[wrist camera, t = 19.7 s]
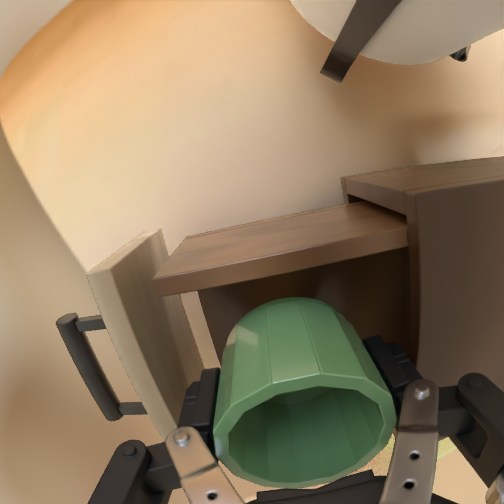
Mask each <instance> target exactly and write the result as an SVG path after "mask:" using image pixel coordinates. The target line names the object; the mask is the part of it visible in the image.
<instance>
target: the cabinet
mask: <svg viewBox="0 0 504 504" xmlns="http://www.w3.org/2000/svg"><path fill="white" fill-rule="evenodd" d="M341 184H342V190H343V196H344V202H345V204H349V203H354V202H360V201H365V200H367V201H370V202H373V203H375V204H378V205H381V206H384V207H386V208H389V209H391V210H394V211H397V212H399V213H402V214H404V215H406V216H407V227H408V240H409V258H410V297H411V304H410V343H409V360H411V362H412V363H413V365H414V366H415V367H416V369H417V370H418V372H419V373H420V375H421V376H422V377H423V379H427V380H430V381H433V382H434V383H435V384H436V385H437V386H438V387H447V386H454V385H458V381H459V379H460V378H461V377H462V376H464V375H465V374H468V373H480V374H483V375H485V376H486V377H487V378H488V379H489V380H491V381H492V382H493V383H494V384H495V385H496V386H497V387H498V388H499V389H501V390H502V391H503V392H504V156H503V157H492V158H481V159H471V160H462V161H453V162H445V163H436V164H428V165H421V166H413V167H406V168H399V169H392V170H385V171H379V172H372V173H366V174H360V175H353V176H347V177H342V178H341ZM397 429H398V426H397V427H395V428H394V430H393V434H394V437H395V439H396V434H397ZM446 437H448V436H442V437H439V441H440V440H442V439H444V438H446Z"/></svg>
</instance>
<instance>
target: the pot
mask: <svg viewBox="0 0 504 504" xmlns="http://www.w3.org/2000/svg"><path fill="white" fill-rule="evenodd" d="M396 423H397V414H396V410H395V406H394V402H393V398H392V395H391V393H390V391H389V390H388V388H387V386H386V384H385V382H384V380H383V379H382V377H381V375H380V373H379V371H378V369H377V368H376V366H375V364H374V362H373V361H372V359H371V357H370V355H369V353H368V352H367V350H366V348H365V346H364V345H363V343H362V341H361V339H360V338H359V336H358V334H357V332H356V331H355V329H354V327H353V326H352V324H351V323H349V322H348V320H347V319H346V317H345V316H344V315H343V314H342V313H341V312H340V311H338V310H337V309H336V308H334V307H333V306H331V305H329V304H327V303H325V302H322V301H320V300H317V299H312V298H306V297H287V298H280V299H276V300H273V301H270V302H267V303H264V304H262V305H260V306H258V307H256V308H255V309H253V310H252V311H250V312H249V313H247V314H246V315H245V316H244V317H243V318H242V319H240V321H239V322H238V323H237V324H236V325H235V327H234V328H233V330H232V331H231V333H230V335H229V337H228V340H227V343H226V347H225V349H224V352H223V358H222V365H221V373H220V380H219V388H218V395H217V403H216V410H215V418H214V426H213V439H214V449H215V455H216V457H217V458H218V459H219V460H220V461H221V462H222V463H223V464H224V465H225V466H226V467H227V468H228V469H229V471H231V473H232V474H234V475H235V476H237V477H240V478H242V479H245V480H247V481H250V482H253V483H255V484H258V485H261V486H265V487H276V488H294V489H297V488H304V487H310V486H315V485H320V484H325V483H329V482H332V481H335V480H337V479H340V478H342V477H344V476H346V475H348V474H350V473H352V472H354V471H356V470H358V469H360V468H362V467H363V466H365V465H366V464H367V463H368V462H369V461H370V460H372V459H373V458H374V457H375V456H376V455H377V454H378V453H379V452H380V451H381V450H382V449H383V448H384V447H385V446H386V445H387V443H388V441H389V439H390V437H391V434H392V432H393V430H394V428H395V425H396Z"/></svg>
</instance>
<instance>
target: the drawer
mask: <svg viewBox="0 0 504 504" xmlns="http://www.w3.org/2000/svg"><path fill="white" fill-rule="evenodd" d="M86 276H87V279H88V282H89V284H90V287H91V290H92V293H93V295H94V298H95V301H96V303H97V306H98V309H99V311H100V314H101V315H96V316H89V317H83V318H79V317H78V315H77V314H76V313H70V314H66V315H64V316H62V317H61V318H59V319H58V320H57V321H56V325H57V328H58V330H59V332H60V334H61V337H62V339H63V341H64V343H65V345H66V347H67V349H68V351H69V353H70V355H71V357H72V359H73V361H74V363H75V365H76V367H77V369H78V371H79V373H80V375H81V377H82V378H83V380H84V382H85V384H86V386H87V387H88V389H89V391H90V393H91V394H92V396H93V398H94V400H95V401H96V403H97V404H98V406H99V408H100V410H101V411H102V413H103V414H104V416H105V418H106V419H107V420H109V421H116V420H119V419H120V418H121V417H122V416H123V415H136V414H137V415H138V414H140V415H141V414H148V415H149V416H150V418H151V420H152V422H153V424H154V425H155V427H156V429H157V430H158V432H159V434H160V435H161V437H162V439H163V441H165V439H166V437H167V435H168V434H169V433H170V432H171V431H172V430H174V429H176V428H177V426H178V422H179V418H180V414H181V410H182V406H183V402H184V399H185V394H186V390H187V388H188V387H189V386H190V385H191V383H192V382H194V381H200V377H201V372H202V370H203V369H205V367H204V365H203V362H202V359H201V356H200V353H199V351H198V348H197V345H196V342H195V339H194V336H193V333H192V330H191V327H190V324H189V321H188V318H187V315H186V312H185V309H184V306H183V303H182V299H181V296H180V294H181V293H187V292H192V291H198V295H199V298H200V302H201V305H202V308H203V312H204V315H205V318H206V321H207V325H208V328H209V331H210V334H211V338H212V341H213V344H214V347H215V350H216V353H217V356H218V359H219V362H220V365H222V358H223V352H224V349H225V347H226V343H227V340H228V337H229V335H230V333H231V331H232V330H233V328H234V327H235V325H236V324H237V323H238V322H239V321H240V319H242V318H243V317H244V316H245V315H246V314H247V313H249V312H250V311H252V310H253V309H255V308H256V307H258V306H260V305H262V304H264V303H267V302H270V301H273V300H276V299H280V298H287V297H306V298H312V299H317V300H320V301H322V302H325V303H327V304H329V305H331V306H333V307H334V308H336V309H337V310H338V311H340V312H341V313H342V314H343V315H344V316H345V317H346V319H347V320H348V322H349V323H351V324H352V326H353V327H354V329H355V331H356V332H357V334H358V336H359V338H360V339H361V341H363V339H364V338H367V337H371V336H375V335H380V336H381V338H382V339H383V341H384V342H385V344H387V343H390V342H393V343H395V344H396V345H398V346H400V347H401V348H402V349H403V351H404V352H405V354H406V355H407V356H408V358H409V343H410V304H411V297H410V258H409V240H408V227H407V216H406V215H404V214H402V213H399V212H397V211H394V210H391V209H389V208H386V207H384V206H381V205H378V204H375V203H373V202H370V201H367V200H365V201H360V202H354V203H349V204H343V205H338V206H333V207H328V208H322V209H317V210H312V211H307V212H302V213H297V214H292V215H287V216H282V217H277V218H272V219H267V220H262V221H257V222H253V223H248V224H243V225H238V226H234V227H229V228H224V229H220V230H215V231H210V232H206V233H201V234H197V235H192V236H188V237H186V238H185V239H184V240H183V241H182V243H181V244H180V245H179V246H178V247H177V249H176V250H175V251H174V252H173V253H172V255H171V256H170V257H169V256H168V253H167V249H166V245H165V242H164V238H163V235H162V231H161V228H157V229H153V230H149V231H145V232H143V233H141V234H140V235H138V236H137V237H136V238H134V239H133V240H131V241H130V242H128V243H127V244H126V245H124V246H123V247H122V248H120V249H119V250H117V251H116V252H115V253H113V254H112V255H110V256H109V257H108V258H106V259H105V260H104V261H102V262H101V263H100V264H98V265H97V266H96V267H94V268H93V269H92V270H90V271H89V272H88V273H87V274H86ZM100 329H107V331H108V333H109V335H110V338H111V340H112V342H113V345H114V347H115V349H116V351H117V353H118V356H119V358H120V360H121V362H122V364H123V366H124V368H125V371H126V373H127V375H128V377H129V379H130V381H131V383H132V385H133V386H134V388H135V391H136V392H137V394H138V396H139V398H140V400H141V402H125V403H120V401H119V400H118V398H117V396H116V394H115V392H114V391H113V389H112V387H111V385H110V383H109V381H108V379H107V377H106V375H105V373H104V371H103V369H102V367H101V365H100V363H99V362H98V359H97V357H96V355H95V353H94V351H93V349H92V347H91V345H90V342H89V340H88V338H87V336H86V333H85V331H92V330H100ZM395 427H397V425H396V426H395Z"/></svg>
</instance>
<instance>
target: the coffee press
mask: <svg viewBox="0 0 504 504" xmlns="http://www.w3.org/2000/svg"><path fill="white" fill-rule="evenodd" d="M290 2H291V3H292V4H293V6H294V7H295V9H296V10H297V11H298V12H299V13H300V15H301V16H302V17H303V18H304V19H305V20H306V21H307V22H308V23H309V24H310V25H312V26H313V27H314V28H315V29H316V30H318V31H319V32H320V33H321V34H323V35H324V36H326V37H327V38H329V39H330V40H332V41H333V42H335V44H334V46H333V48H332V50H331V52H330V54H329V56H328V58H327V60H326V62H325V64H324V66H323V68H322V70H321V72H320V74H322V75H325V76H327V77H329V78H331V79H333V80H335V81H336V82H338V83H341V82H342V80H343V78H344V77H345V75H346V73H347V71H348V70H349V68H350V66H351V65H352V63H353V61H354V60H355V58H356V57H357V55H358V54H359V55H361V56H364V57H367V58H370V59H373V60H377V61H380V62H385V63H390V64H397V65H422V64H427V63H431V62H435V61H438V60H440V59H442V58H445V57H447V56H451V57H452V58H453V59H455V60H458V61H462V62H464V61H466V60H467V57H468V54H469V51H470V47H471V44H472V43H474V42H476V41H478V40H480V39H482V38H484V37H486V36H488V35H490V34H492V33H494V32H496V31H498V30H500V29H503V28H504V0H290Z"/></svg>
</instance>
